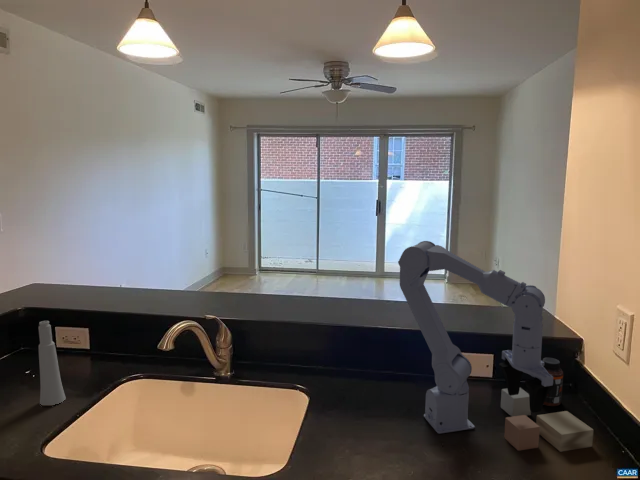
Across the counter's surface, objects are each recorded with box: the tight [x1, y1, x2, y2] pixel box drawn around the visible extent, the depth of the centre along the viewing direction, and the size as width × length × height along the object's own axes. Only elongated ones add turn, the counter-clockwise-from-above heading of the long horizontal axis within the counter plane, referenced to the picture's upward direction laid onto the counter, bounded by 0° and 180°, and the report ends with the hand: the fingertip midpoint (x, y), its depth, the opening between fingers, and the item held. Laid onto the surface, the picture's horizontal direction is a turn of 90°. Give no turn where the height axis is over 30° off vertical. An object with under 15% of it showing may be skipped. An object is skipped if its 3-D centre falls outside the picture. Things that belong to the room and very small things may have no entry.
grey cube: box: [500, 387, 532, 417], centre depth 117 cm, size 5×5×5 cm
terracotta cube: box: [503, 415, 540, 452], centre depth 104 cm, size 5×5×5 cm
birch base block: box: [535, 410, 594, 453], centre depth 106 cm, size 8×8×4 cm
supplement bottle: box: [542, 357, 564, 407], centre depth 121 cm, size 6×6×11 cm
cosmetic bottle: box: [38, 320, 67, 406], centre depth 123 cm, size 6×6×22 cm
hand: (524, 402), depth 103 cm, fingers open, 7 cm apart
